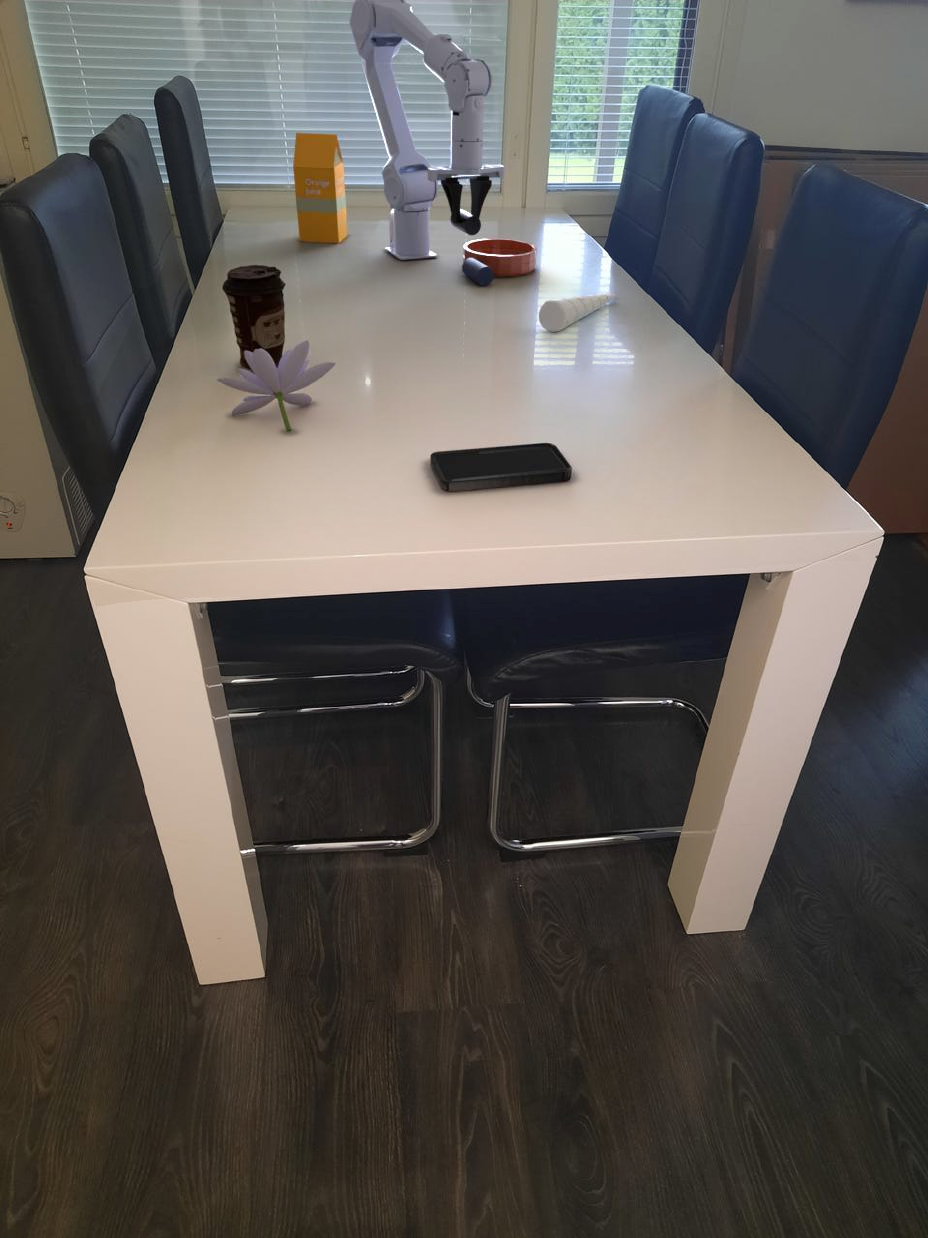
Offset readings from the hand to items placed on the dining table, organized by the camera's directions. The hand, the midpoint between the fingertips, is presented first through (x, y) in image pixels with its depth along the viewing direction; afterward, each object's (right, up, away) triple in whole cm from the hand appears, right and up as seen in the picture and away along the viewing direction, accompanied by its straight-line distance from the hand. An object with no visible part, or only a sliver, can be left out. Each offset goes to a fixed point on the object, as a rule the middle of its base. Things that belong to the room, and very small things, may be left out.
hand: (465, 221), depth 162 cm
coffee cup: (-29, -39, -39) cm, 62 cm away
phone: (+4, -59, -65) cm, 87 cm away
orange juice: (-31, +8, +25) cm, 40 cm away
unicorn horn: (+19, -24, -17) cm, 35 cm away
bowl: (+7, -6, +7) cm, 12 cm away
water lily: (-23, -50, -53) cm, 76 cm away
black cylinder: (0, -1, +1) cm, 2 cm away
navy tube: (+1, -11, -2) cm, 11 cm away
